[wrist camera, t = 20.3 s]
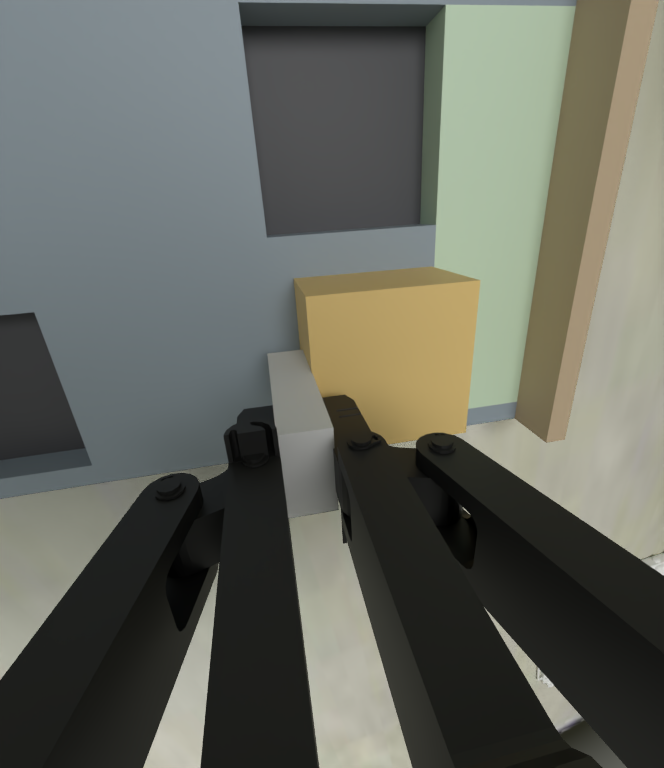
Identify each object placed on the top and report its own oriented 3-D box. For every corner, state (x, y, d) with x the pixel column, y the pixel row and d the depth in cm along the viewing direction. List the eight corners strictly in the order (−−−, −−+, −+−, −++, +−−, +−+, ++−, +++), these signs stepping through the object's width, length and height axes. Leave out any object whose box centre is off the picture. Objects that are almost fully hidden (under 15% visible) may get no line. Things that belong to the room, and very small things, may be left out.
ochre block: (305, 408, 18) (318, 455, 15) (293, 278, 16) (305, 296, 12) (425, 391, 19) (465, 432, 16) (431, 266, 17) (480, 280, 13)
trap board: (-65, 485, 19) (-154, 560, 14) (-362, -16, 11) (-709, -146, 7) (509, 399, 23) (564, 439, 19) (565, -2, 16) (675, -79, 12)
